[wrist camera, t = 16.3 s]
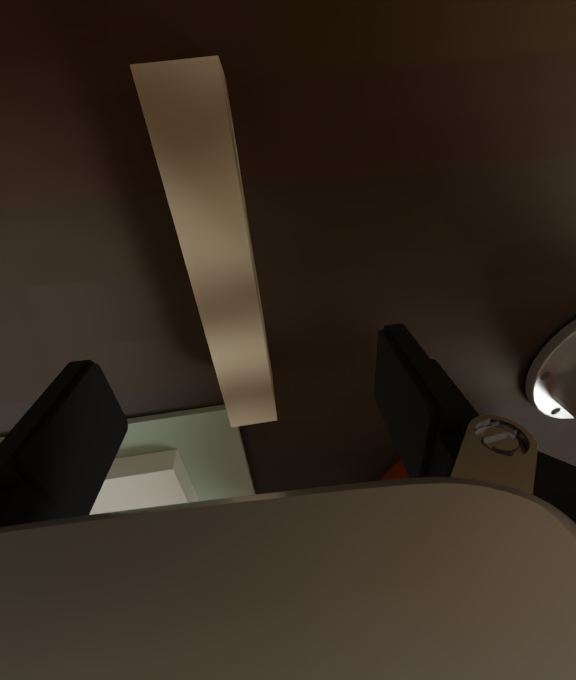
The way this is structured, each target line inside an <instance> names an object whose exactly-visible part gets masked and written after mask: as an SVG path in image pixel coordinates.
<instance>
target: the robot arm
mask: <svg viewBox="0 0 576 680" xmlns="http://www.w3.org/2000/svg"><path fill="white" fill-rule="evenodd" d="M525 392H526V395H527V398H528V400H529V401H530V402H531V404H532V405H533V406H534V407H535V408H536V409H538V410H539V411H540V412H541V413H542V414H545V415H547V416H549V417H554V418H575V419H576V319H575V320H573V321H572V322H571V323H569V324H568V325H566V326H565V327H564V328H562V329H561V330H560V331H559V332H558V333H557V334H556V335H555V336H554V337H552V338H551V339H550V340H549V341H548V343H547V344H546V345H545V346H544V347H543V348H542V349H541V351H540V352H539V353H538V355H537V356H536V358H535V359H534V361H533V363H532V365H531V367H530V369H529V371H528V374H527V378H526V382H525ZM374 395H375V400H376V403H377V405H378V407H379V410H380V412H381V414H382V417H383V419H384V421H385V423H386V426H387V428H388V430H389V433H390V435H391V437H392V440H393V442H394V444H395V446H396V449H397V451H398V453H399V456H400V458H401V460H402V462H403V465H404V467H405V469H406V472H407V474H408V476H409V478H403V479H393V480H383V481H373V482H362V483H352V484H343V485H334V486H325V487H317V488H308V489H299V490H290V491H282V492H273V493H264V494H256V495H247V496H239V497H231V498H222V499H214V500H206V501H197V502H189V503H181V504H173V505H164V506H156V507H148V508H140V509H132V510H124V511H116V512H108V513H100V514H93V515H89V514H90V512H91V510H92V507H93V505H94V503H95V501H96V499H97V496H98V494H99V492H100V490H101V488H102V485H103V483H104V481H105V479H106V477H107V474H108V472H109V470H110V468H111V466H112V464H113V461H114V459H115V457H116V455H117V453H118V450H119V448H120V446H121V444H122V442H123V439H124V437H125V435H126V433H127V430H128V422H127V419H126V417H125V415H124V413H123V411H122V409H121V407H120V405H119V403H118V401H117V399H116V397H115V395H114V393H113V391H112V389H111V387H110V385H109V383H108V381H107V379H106V377H105V375H104V373H103V372H102V370H101V368H100V366H99V365H98V364H96V363H94V362H93V361H91V360H82V361H74V362H70V363H69V364H67V366H66V367H65V368H64V369H63V370H62V371H61V373H60V374H59V375H58V376H57V377H56V378H55V380H54V381H53V382H52V383H51V384H50V385H49V387H48V388H47V389H46V390H45V391H44V392H43V394H42V395H41V396H40V397H39V398H38V400H37V401H36V402H35V403H34V404H33V405H32V407H31V408H30V409H29V410H28V411H27V412H26V414H25V415H24V416H23V417H22V418H21V419H20V421H19V422H18V423H17V424H16V425H15V426H14V428H13V429H12V430H11V431H10V432H9V433H8V435H7V436H6V437H5V438H4V439H3V440H2V442H1V443H0V680H576V467H575V466H573V465H571V464H568V463H566V462H563V461H561V460H558V459H556V458H554V457H551V456H549V455H546V454H544V453H541V452H539V451H538V446H537V442H536V440H535V438H534V437H533V435H532V434H531V433H530V432H529V431H528V430H527V429H526V428H525V427H523V426H522V425H520V424H519V423H517V422H515V421H513V420H510V419H508V418H506V417H501V416H497V415H482V416H479V414H478V413H477V412H476V411H475V409H474V408H473V407H472V406H471V404H470V403H469V402H468V400H467V399H466V398H465V397H464V395H463V394H462V393H461V392H460V390H459V389H458V388H457V386H456V385H455V384H454V383H453V381H452V380H451V379H450V378H449V376H448V375H447V374H446V372H445V371H444V370H443V369H442V367H441V366H440V365H439V364H438V362H437V361H435V360H433V359H430V358H429V357H428V356H427V354H426V353H425V352H424V350H423V349H422V348H421V346H420V345H419V344H418V343H417V341H416V340H415V339H414V337H413V336H412V335H411V333H410V332H409V331H408V329H407V328H406V327H405V326H404V325H403V324H395V325H386V326H384V329H383V330H380V331H379V333H378V344H377V359H376V374H375V389H374Z"/></svg>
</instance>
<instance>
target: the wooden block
mask: <svg viewBox="0 0 576 680" xmlns="http://www.w3.org/2000/svg"><path fill="white" fill-rule="evenodd" d="M130 68H131V72H132V75H133V79H134V82H135V86H136V89H137V93H138V97H139V100H140V104H141V107H142V111H143V114H144V118H145V121H146V125H147V129H148V132H149V136H150V139H151V143H152V146H153V150H154V154H155V157H156V161H157V164H158V168H159V171H160V175H161V179H162V182H163V186H164V189H165V193H166V196H167V200H168V203H169V207H170V211H171V214H172V218H173V221H174V225H175V228H176V232H177V236H178V239H179V243H180V246H181V250H182V253H183V257H184V260H185V264H186V268H187V271H188V275H189V278H190V282H191V285H192V289H193V293H194V296H195V300H196V303H197V307H198V310H199V314H200V318H201V321H202V325H203V328H204V332H205V335H206V339H207V342H208V346H209V350H210V353H211V357H212V360H213V364H214V367H215V371H216V375H217V378H218V382H219V385H220V389H221V392H222V396H223V400H224V403H225V407H226V410H227V414H228V417H229V421H230V424H231V427H238V426H244V425H251V424H257V423H264V422H270V421H277V412H276V403H275V395H274V386H273V377H272V369H271V363H270V356H269V350H268V344H267V337H266V331H265V325H264V318H263V312H262V305H261V299H260V293H259V286H258V280H257V274H256V267H255V261H254V255H253V248H252V242H251V236H250V229H249V223H248V217H247V210H246V204H245V198H244V191H243V185H242V179H241V172H240V166H239V160H238V153H237V147H236V141H235V134H234V128H233V122H232V115H231V109H230V103H229V96H228V90H227V83H226V77H225V74H224V71H223V68H222V66H221V63H220V60H219V57H218V55H217V56H208V57H198V58H188V59H179V60H169V61H160V62H150V63H140V64H131V65H130Z"/></svg>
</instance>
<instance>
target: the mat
mask: <svg viewBox="0 0 576 680" xmlns="http://www.w3.org/2000/svg"><path fill="white" fill-rule="evenodd" d="M127 422H128V430H127V433H126V435H125V437H124V439H123V442H122V444H121V446H120V448H119V450H118V453H117V455H116V457H115V458H122V457H128V456H135V455H141V454H148V453H155V452H161V451H168V450H174V449H177V450H178V453H179V455H180V457H181V460H182V462H183V464H184V466H185V469H186V471H187V473H188V476H189V478H190V480H191V483H192V485H193V487H194V490H195V492H196V494H197V497H198V499H199V501H206V500H214V499H222V498H231V497H239V496H247V495H256V493H255V489H254V485H253V481H252V477H251V473H250V469H249V465H248V461H247V458H246V454H245V450H244V446H243V442H242V438H241V434H240V430H239V426H238V427H231V424H230V421H229V417H228V414H227V410H226V407H225V405H218V406H211V407H204V408H197V409H190V410H184V411H177V412H170V413H163V414H156V415H150V416H143V417H136V418H129V419H127ZM4 438H5V437H0V443H1V442H2V440H3V439H4Z"/></svg>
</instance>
